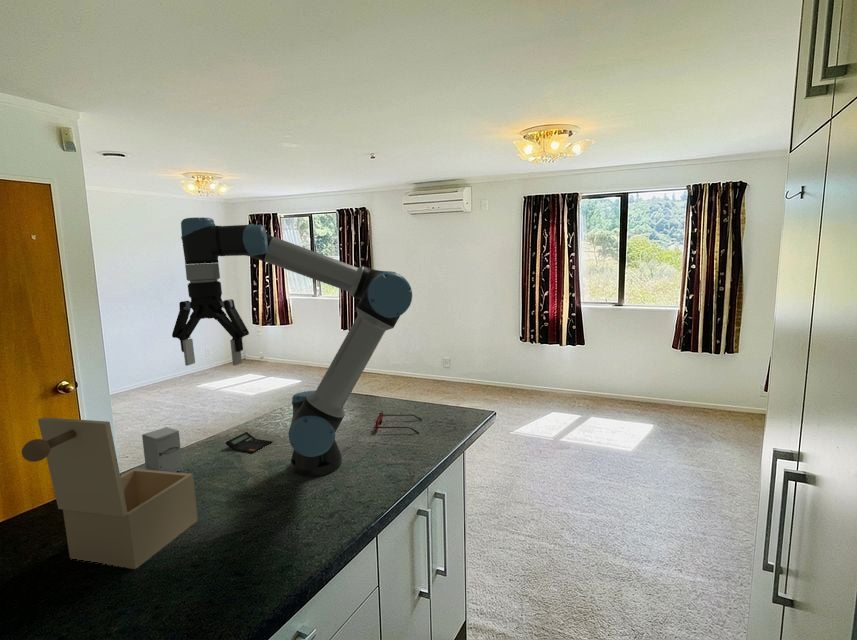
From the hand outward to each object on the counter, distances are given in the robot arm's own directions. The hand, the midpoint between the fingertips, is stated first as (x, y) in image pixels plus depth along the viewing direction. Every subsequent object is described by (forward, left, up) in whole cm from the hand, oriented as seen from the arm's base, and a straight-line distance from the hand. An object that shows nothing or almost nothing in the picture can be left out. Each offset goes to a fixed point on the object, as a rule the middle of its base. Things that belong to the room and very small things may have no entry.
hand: (213, 364), depth 118 cm
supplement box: (+29, -10, -37) cm, 48 cm away
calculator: (+15, -32, -37) cm, 51 cm away
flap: (+8, +30, -14) cm, 34 cm away
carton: (+8, +20, -36) cm, 42 cm away
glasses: (-31, -58, -37) cm, 75 cm away
